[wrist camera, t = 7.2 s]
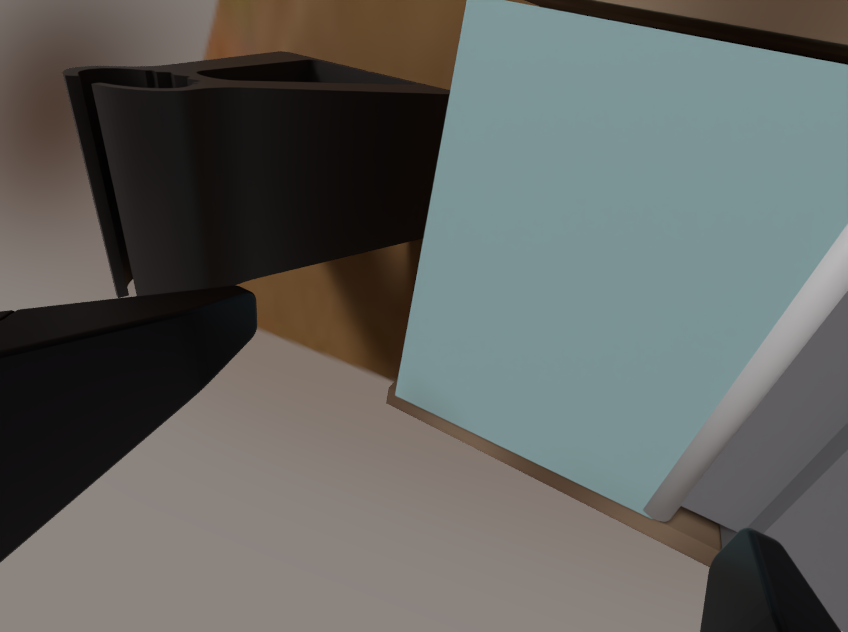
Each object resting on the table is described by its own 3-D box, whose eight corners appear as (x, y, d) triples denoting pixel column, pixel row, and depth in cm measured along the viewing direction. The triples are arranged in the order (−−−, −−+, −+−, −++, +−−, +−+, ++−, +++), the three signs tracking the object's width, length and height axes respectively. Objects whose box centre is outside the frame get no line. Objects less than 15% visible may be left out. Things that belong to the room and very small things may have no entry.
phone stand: (286, 179, 24) (33, 254, 15) (286, 50, 21) (-39, 40, 12) (439, 233, 22) (245, 365, 12) (465, 94, 18) (229, 127, 9)
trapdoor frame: (1016, 55, 12) (1300, 49, 6) (724, 435, 20) (738, 581, 14) (546, -23, 16) (466, -70, 10) (458, 322, 23) (386, 403, 18)
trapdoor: (1263, 148, 8) (1511, 186, 6) (819, 539, 14) (846, 633, 12) (501, 3, 12) (456, -11, 10) (423, 361, 18) (386, 406, 16)
